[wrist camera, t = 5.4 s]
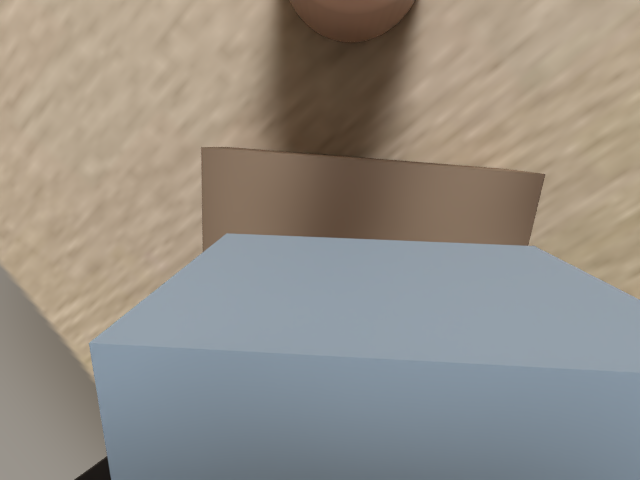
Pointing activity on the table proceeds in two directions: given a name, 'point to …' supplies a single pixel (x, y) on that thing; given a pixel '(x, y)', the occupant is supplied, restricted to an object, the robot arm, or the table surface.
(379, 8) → the peach rounded capsule
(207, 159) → the base slab
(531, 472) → the block
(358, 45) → the table surface
